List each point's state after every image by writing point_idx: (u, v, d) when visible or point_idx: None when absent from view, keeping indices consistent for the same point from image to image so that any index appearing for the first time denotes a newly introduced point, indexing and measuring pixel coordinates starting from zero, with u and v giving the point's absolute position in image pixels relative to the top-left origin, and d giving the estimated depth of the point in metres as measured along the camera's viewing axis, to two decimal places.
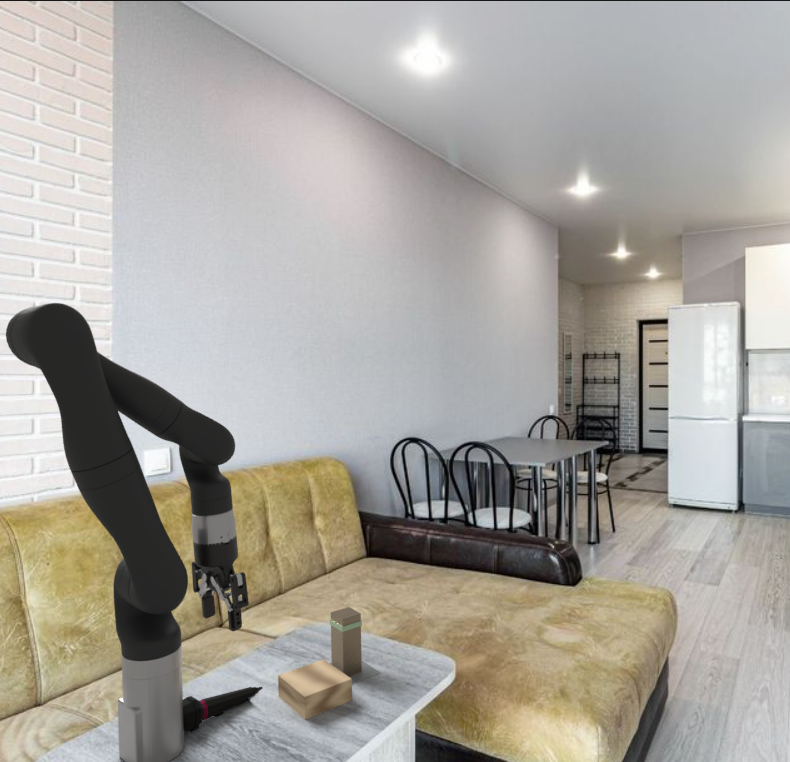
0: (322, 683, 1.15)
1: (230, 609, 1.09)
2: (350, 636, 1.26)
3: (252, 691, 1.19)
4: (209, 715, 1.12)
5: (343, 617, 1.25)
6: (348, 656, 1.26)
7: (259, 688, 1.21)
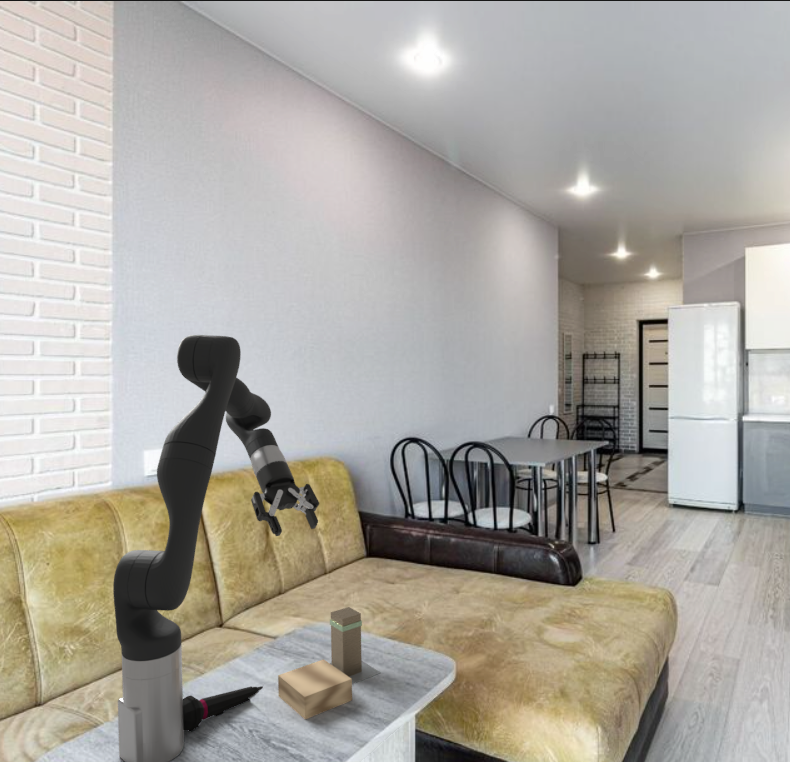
0: (322, 683, 1.15)
1: (312, 506, 1.39)
2: (350, 636, 1.26)
3: (252, 691, 1.19)
4: (209, 715, 1.12)
5: (343, 617, 1.25)
6: (348, 656, 1.26)
7: (259, 688, 1.21)
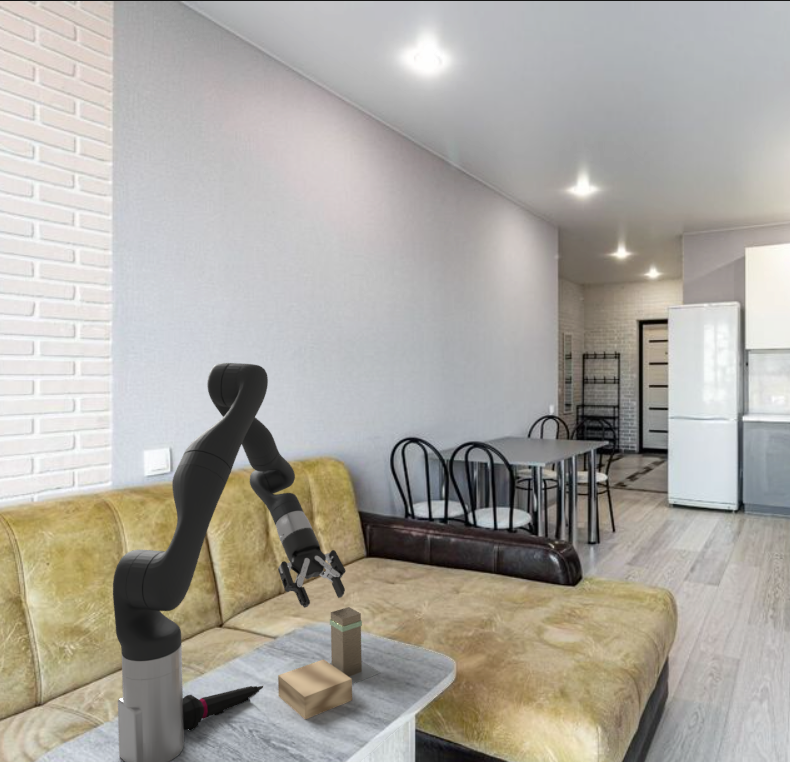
0: (322, 683, 1.15)
1: (339, 574, 1.39)
2: (350, 636, 1.26)
3: (252, 690, 1.20)
4: (209, 714, 1.12)
5: (343, 617, 1.25)
6: (348, 656, 1.26)
7: (259, 687, 1.22)
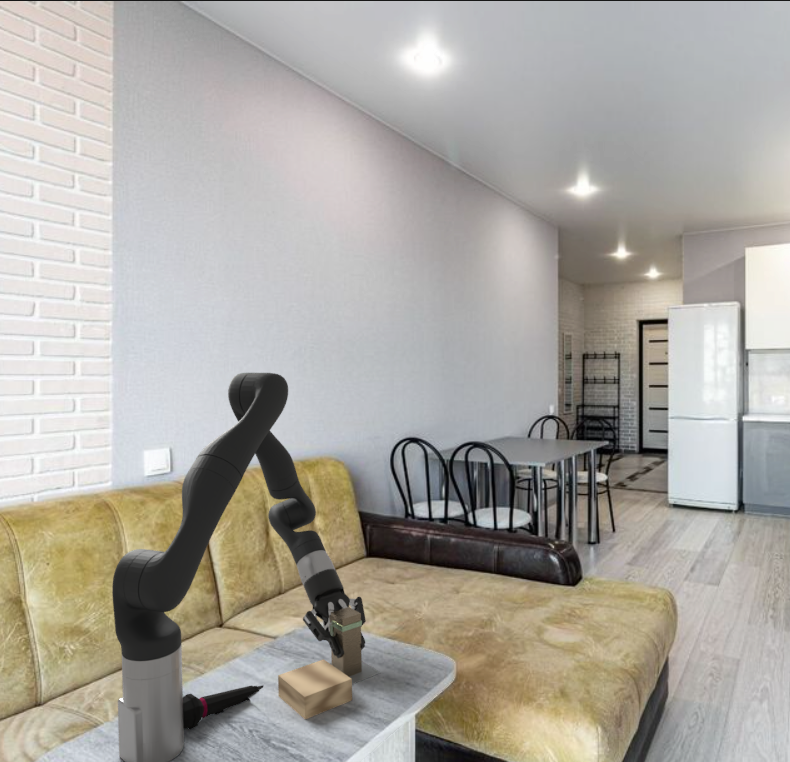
0: (322, 683, 1.15)
1: None
2: (350, 636, 1.26)
3: (252, 690, 1.20)
4: (209, 713, 1.12)
5: (343, 617, 1.25)
6: (348, 656, 1.26)
7: (260, 687, 1.22)
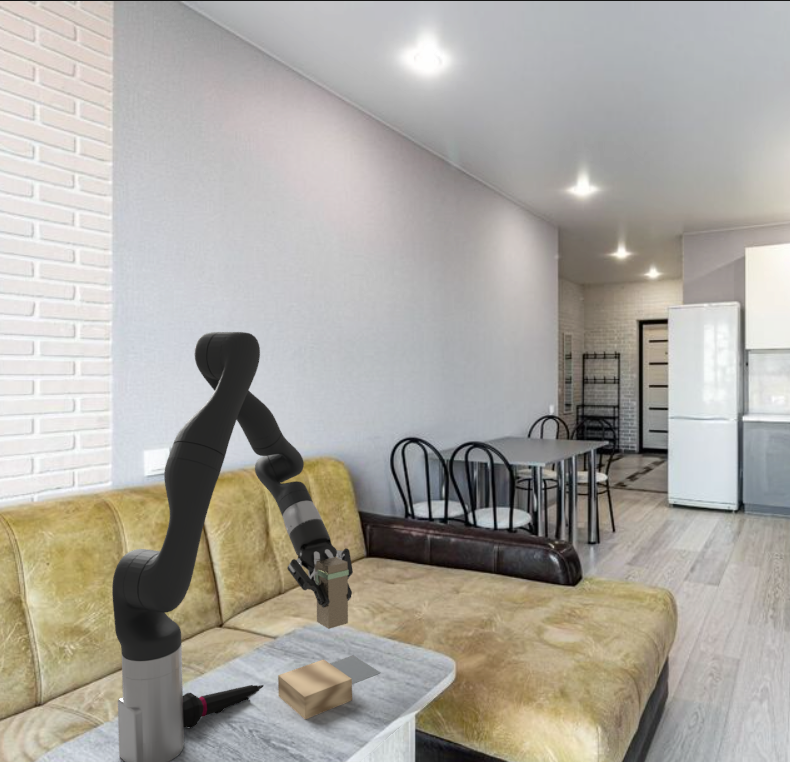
0: (322, 683, 1.15)
1: None
2: (336, 585, 1.21)
3: (253, 689, 1.20)
4: (208, 712, 1.13)
5: (329, 565, 1.20)
6: (334, 605, 1.21)
7: (260, 686, 1.22)
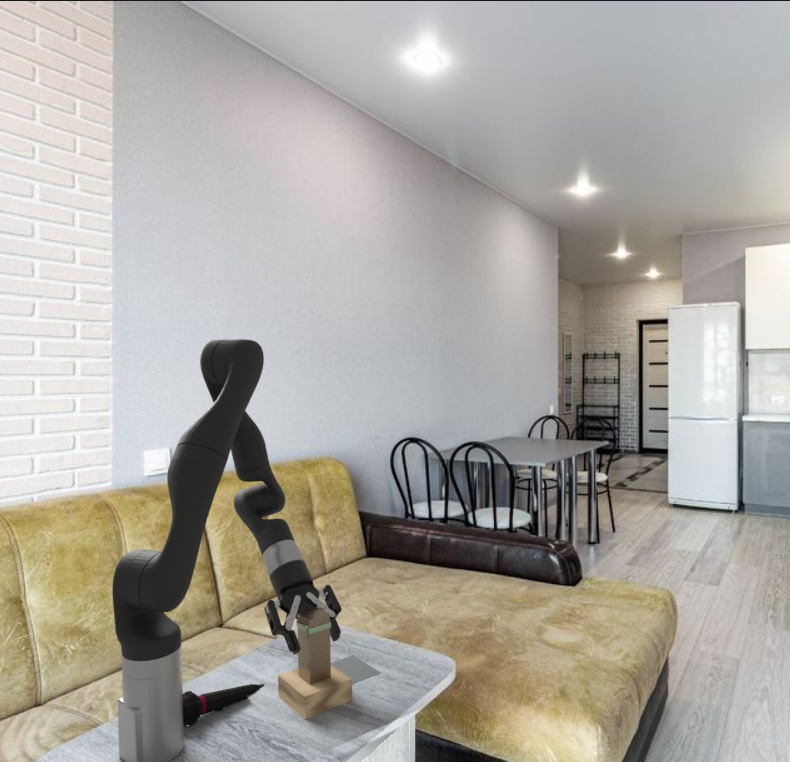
0: (322, 683, 1.15)
1: (334, 614, 1.21)
2: (318, 639, 1.16)
3: (253, 688, 1.20)
4: (208, 711, 1.13)
5: (310, 619, 1.15)
6: (315, 660, 1.15)
7: (260, 685, 1.22)
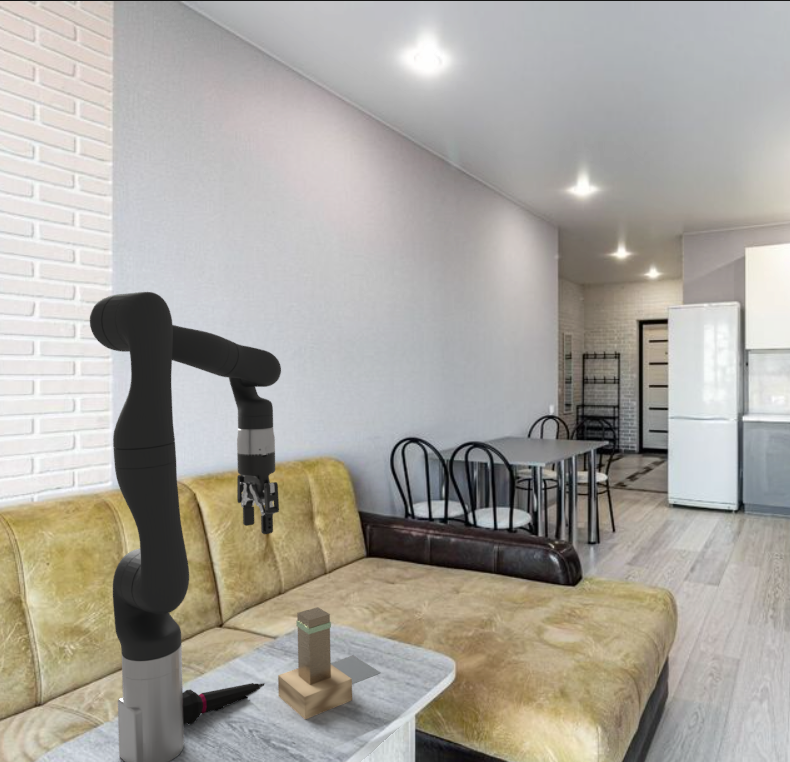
0: (322, 683, 1.15)
1: (263, 513, 1.23)
2: (318, 639, 1.16)
3: (253, 687, 1.21)
4: (208, 709, 1.14)
5: (310, 619, 1.15)
6: (315, 660, 1.15)
7: (261, 685, 1.23)
